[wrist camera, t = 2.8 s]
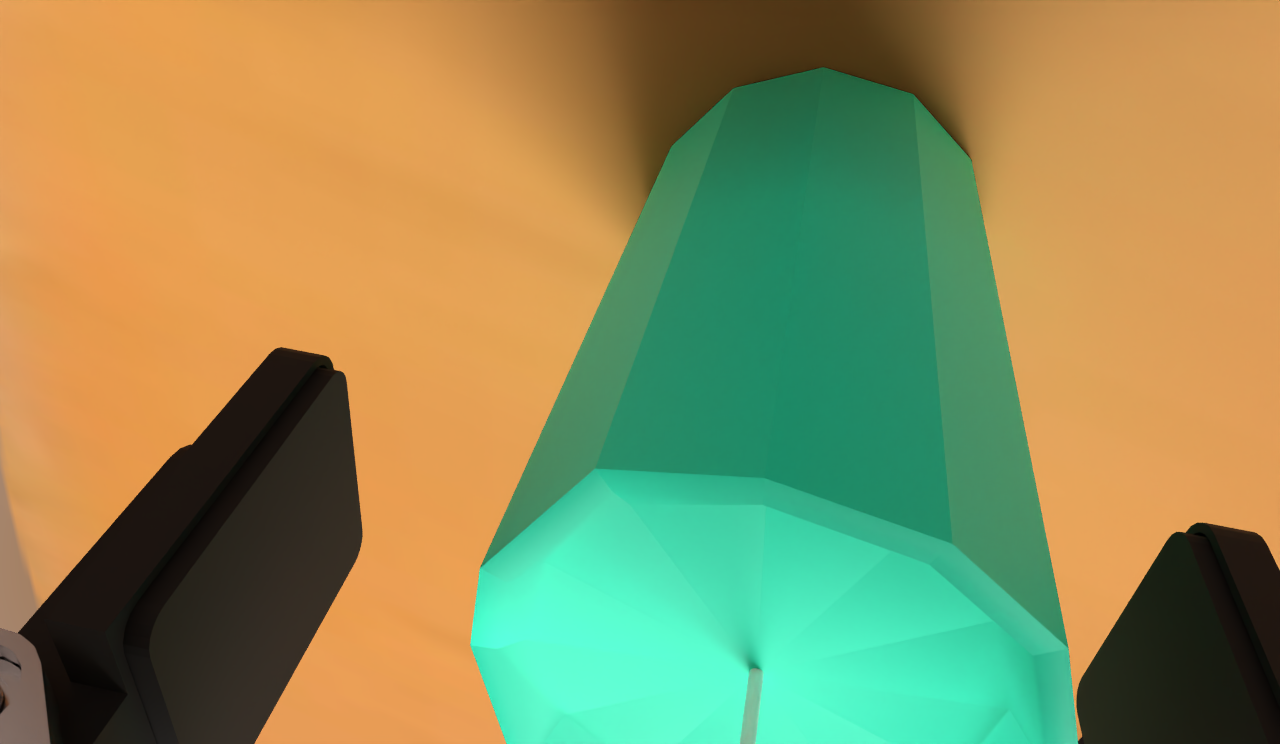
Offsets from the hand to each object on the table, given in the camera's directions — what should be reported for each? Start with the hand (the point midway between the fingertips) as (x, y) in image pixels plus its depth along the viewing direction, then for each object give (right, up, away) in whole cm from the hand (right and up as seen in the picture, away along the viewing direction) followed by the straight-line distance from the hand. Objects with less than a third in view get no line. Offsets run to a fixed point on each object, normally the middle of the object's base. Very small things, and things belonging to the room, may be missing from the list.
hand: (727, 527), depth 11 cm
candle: (+2, +5, +7) cm, 8 cm away
